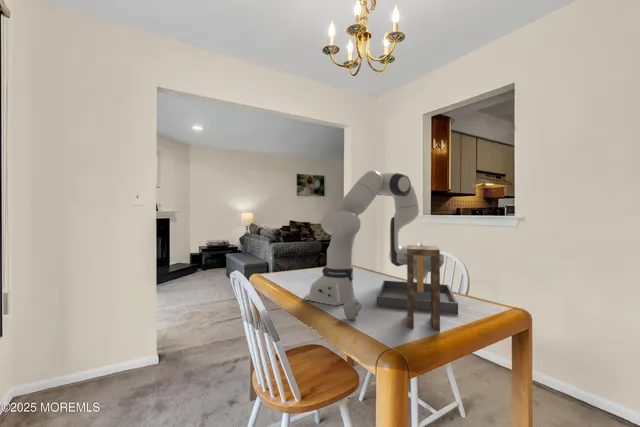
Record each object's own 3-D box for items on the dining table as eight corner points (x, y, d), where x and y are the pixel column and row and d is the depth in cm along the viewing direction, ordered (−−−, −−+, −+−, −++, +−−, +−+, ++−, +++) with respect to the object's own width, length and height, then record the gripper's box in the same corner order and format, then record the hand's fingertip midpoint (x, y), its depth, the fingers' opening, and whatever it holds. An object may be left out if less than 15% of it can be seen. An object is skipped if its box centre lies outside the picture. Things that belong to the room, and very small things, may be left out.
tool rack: (407, 327, 94) (407, 248, 94) (407, 315, 106) (407, 245, 106) (440, 331, 91) (439, 249, 91) (436, 318, 103) (436, 246, 103)
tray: (377, 306, 116) (377, 296, 116) (383, 288, 144) (383, 280, 144) (458, 314, 107) (458, 303, 107) (448, 293, 135) (448, 284, 135)
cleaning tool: (409, 299, 123) (409, 298, 121) (409, 251, 133) (409, 249, 130) (431, 301, 120) (432, 300, 118) (430, 252, 130) (430, 249, 128)
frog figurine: (362, 322, 98) (362, 302, 98) (342, 321, 99) (342, 301, 99) (361, 316, 104) (361, 297, 105) (342, 315, 105) (342, 296, 105)
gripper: (396, 256, 140) (395, 244, 129) (441, 258, 134) (444, 246, 123) (396, 268, 137) (395, 257, 126) (442, 271, 131) (445, 260, 120)
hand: (420, 252), depth 124 cm, fingers open, 5 cm apart
